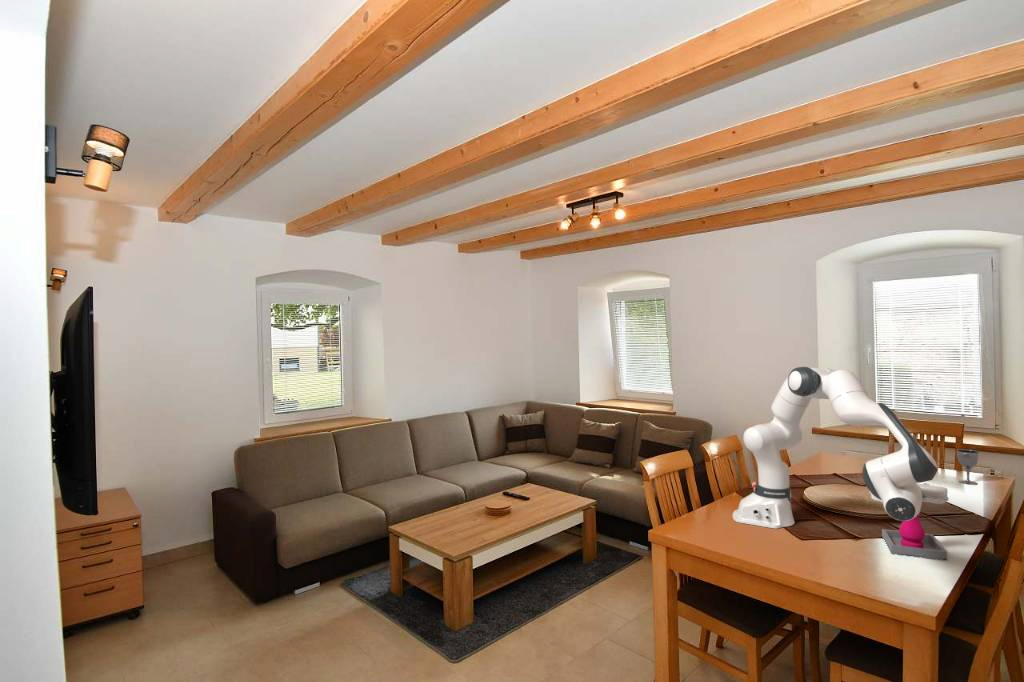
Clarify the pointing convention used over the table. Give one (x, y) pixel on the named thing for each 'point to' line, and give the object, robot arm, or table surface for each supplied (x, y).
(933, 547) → the tray
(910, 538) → the pepper mill
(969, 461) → the wine glass
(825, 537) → the table surface
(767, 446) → the robot arm
